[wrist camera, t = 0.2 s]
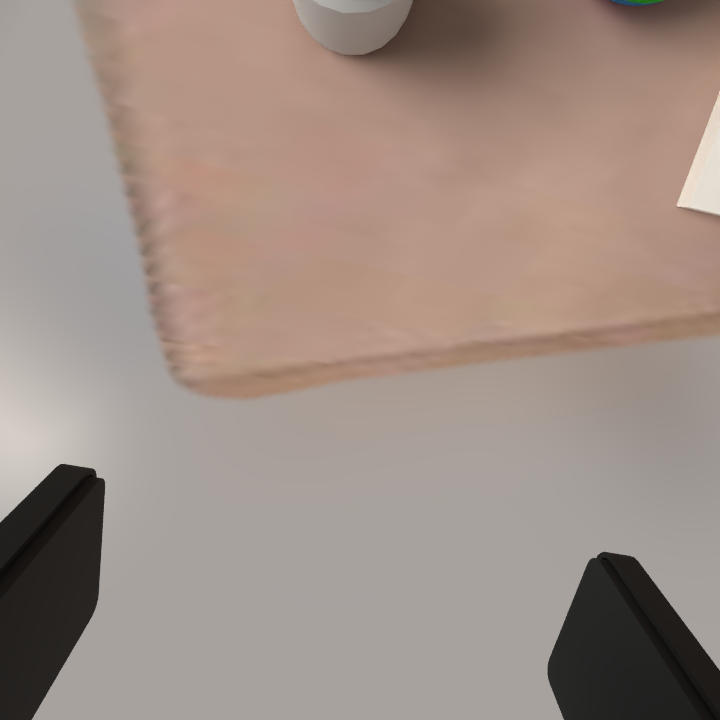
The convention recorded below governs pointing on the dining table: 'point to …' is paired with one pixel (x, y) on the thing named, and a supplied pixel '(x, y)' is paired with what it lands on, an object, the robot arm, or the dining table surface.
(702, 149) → the post board
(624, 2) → the decorative egg
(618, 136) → the dining table surface
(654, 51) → the dining table surface
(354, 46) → the can
